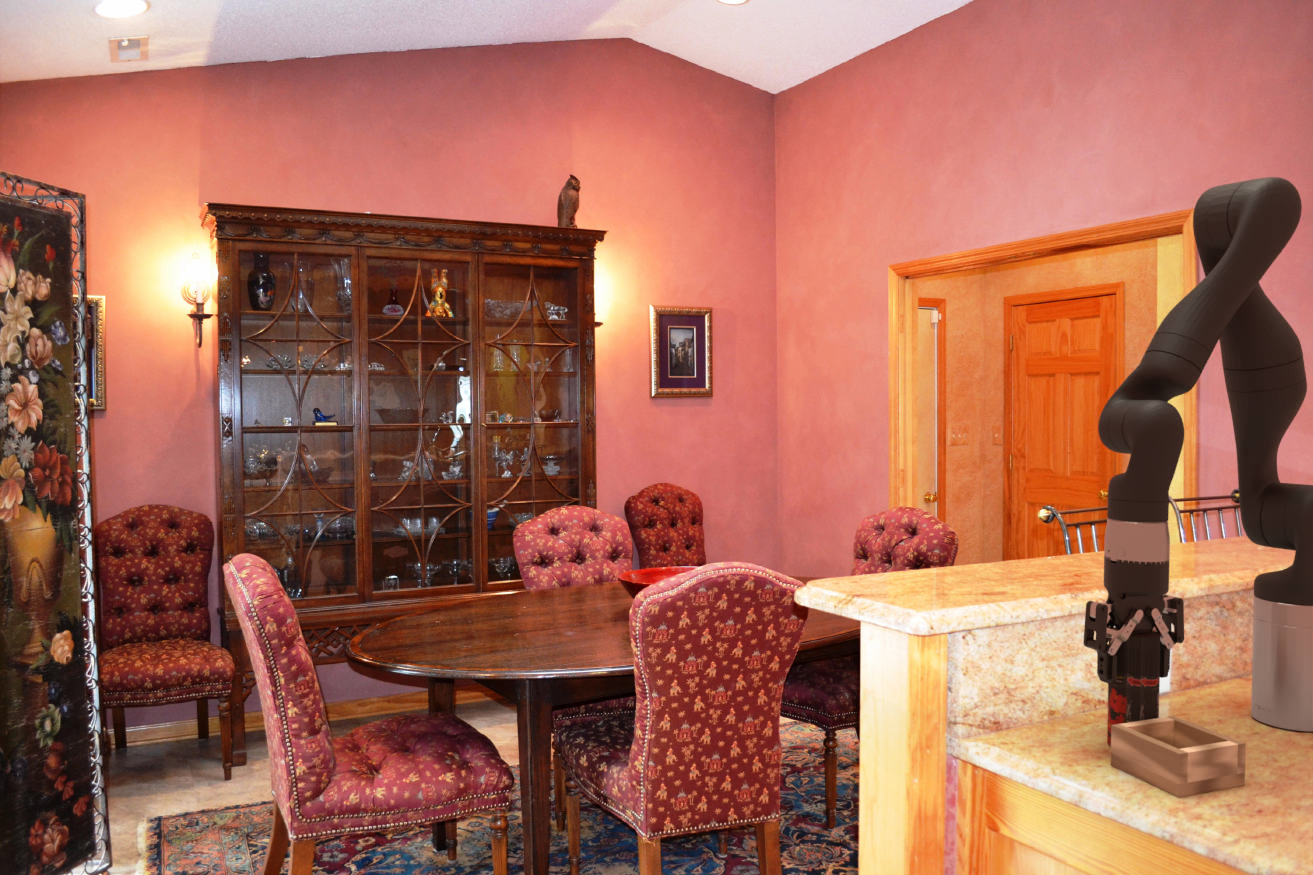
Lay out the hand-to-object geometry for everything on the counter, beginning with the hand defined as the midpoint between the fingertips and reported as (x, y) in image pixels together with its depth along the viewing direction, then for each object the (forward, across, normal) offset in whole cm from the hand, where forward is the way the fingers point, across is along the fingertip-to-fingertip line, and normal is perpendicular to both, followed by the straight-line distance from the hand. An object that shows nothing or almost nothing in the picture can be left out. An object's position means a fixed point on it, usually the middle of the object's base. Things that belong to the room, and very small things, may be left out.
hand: (1133, 679), depth 122 cm
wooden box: (+9, +2, +9) cm, 13 cm away
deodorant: (+9, 0, 0) cm, 9 cm away
